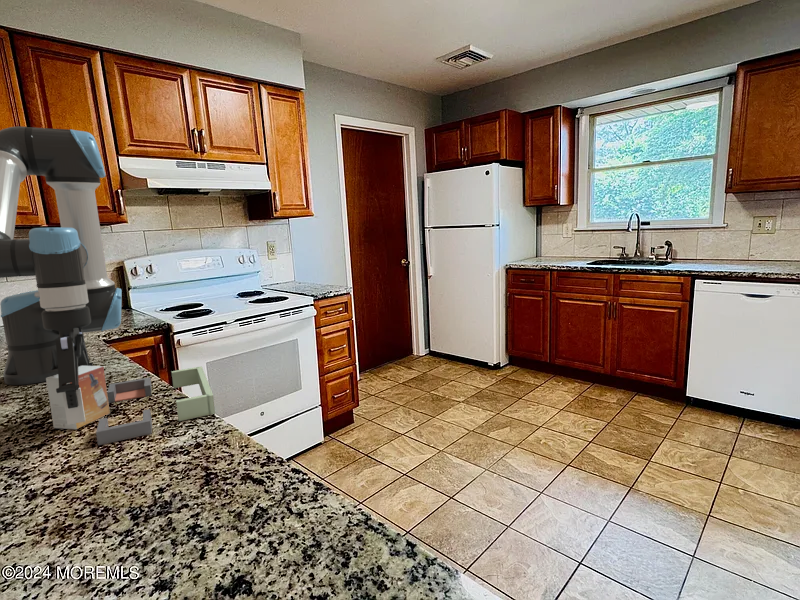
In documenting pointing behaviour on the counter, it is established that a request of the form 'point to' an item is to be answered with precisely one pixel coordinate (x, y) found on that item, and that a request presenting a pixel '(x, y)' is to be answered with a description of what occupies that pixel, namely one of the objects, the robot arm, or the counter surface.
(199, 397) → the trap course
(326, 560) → the counter surface
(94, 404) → the small box
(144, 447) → the counter surface
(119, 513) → the counter surface
